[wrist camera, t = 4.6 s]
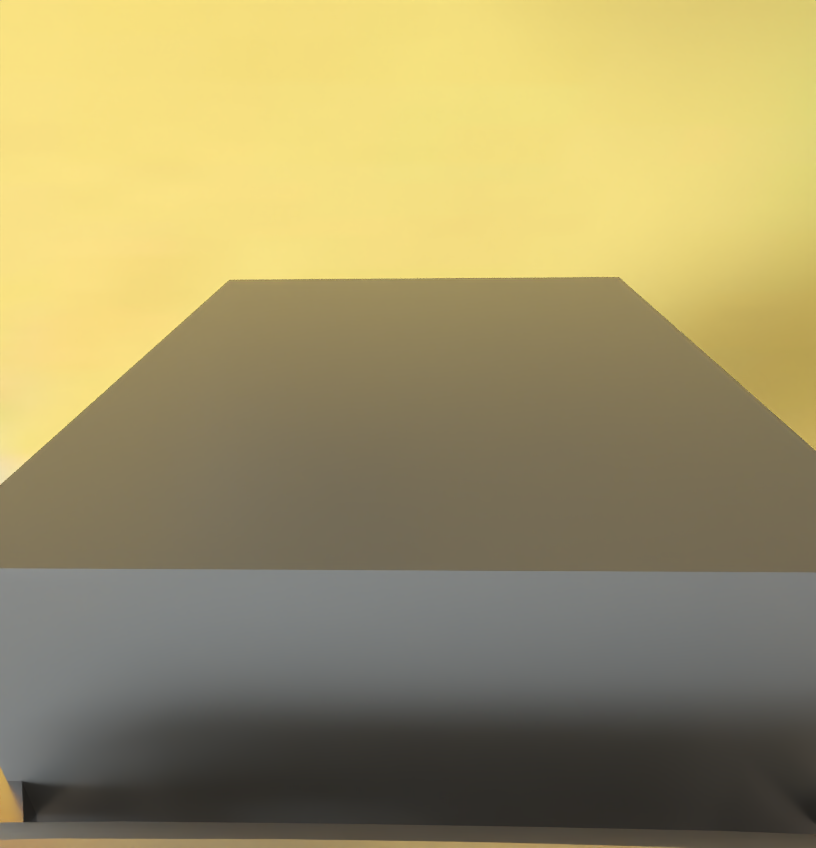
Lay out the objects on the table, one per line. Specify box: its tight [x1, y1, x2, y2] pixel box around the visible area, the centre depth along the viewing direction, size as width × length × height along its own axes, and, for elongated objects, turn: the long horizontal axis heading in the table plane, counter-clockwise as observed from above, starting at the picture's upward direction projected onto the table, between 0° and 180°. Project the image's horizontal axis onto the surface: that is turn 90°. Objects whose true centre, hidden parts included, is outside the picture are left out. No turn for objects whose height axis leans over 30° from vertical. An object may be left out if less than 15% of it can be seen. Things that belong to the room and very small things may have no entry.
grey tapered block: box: [0, 277, 816, 834], centre depth 10 cm, size 8×8×9 cm
